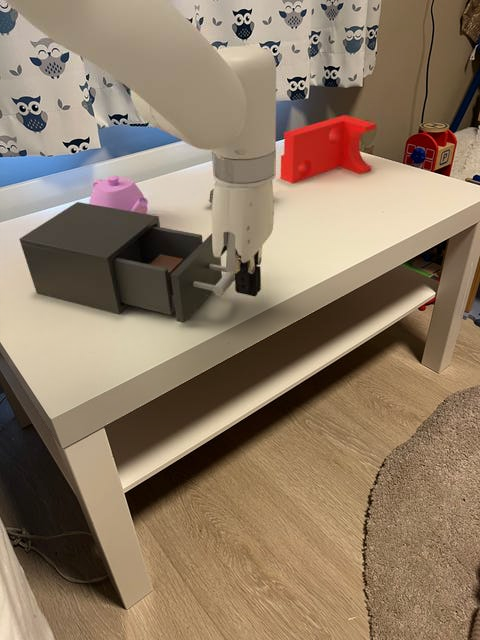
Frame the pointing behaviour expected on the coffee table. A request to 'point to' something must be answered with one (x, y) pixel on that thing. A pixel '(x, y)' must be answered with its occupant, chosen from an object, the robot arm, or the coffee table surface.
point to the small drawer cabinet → (83, 253)
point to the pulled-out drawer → (187, 280)
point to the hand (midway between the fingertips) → (248, 291)
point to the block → (168, 265)
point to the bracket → (324, 148)
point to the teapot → (118, 195)
